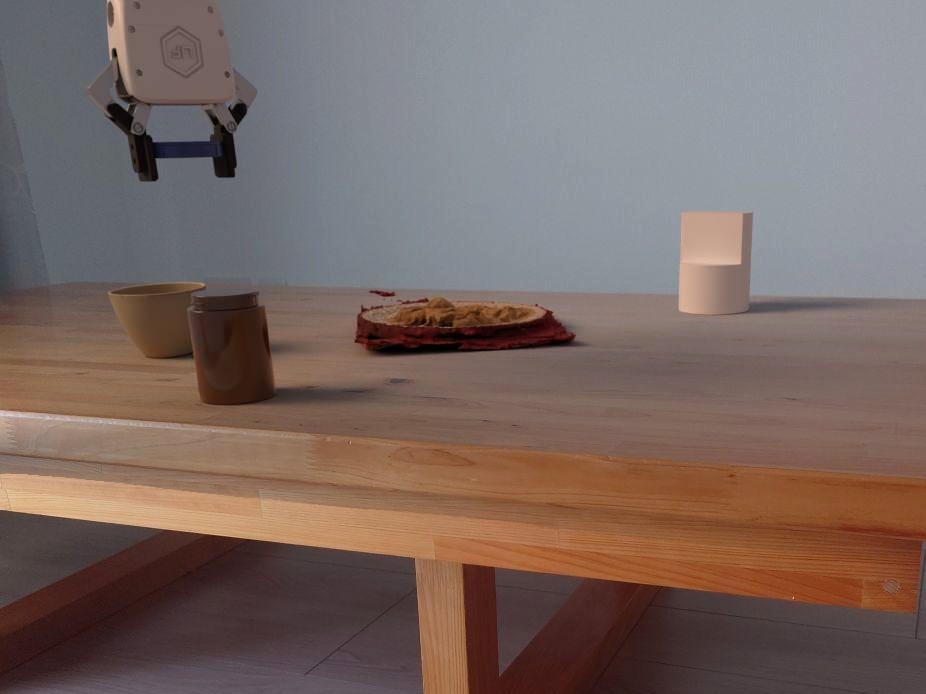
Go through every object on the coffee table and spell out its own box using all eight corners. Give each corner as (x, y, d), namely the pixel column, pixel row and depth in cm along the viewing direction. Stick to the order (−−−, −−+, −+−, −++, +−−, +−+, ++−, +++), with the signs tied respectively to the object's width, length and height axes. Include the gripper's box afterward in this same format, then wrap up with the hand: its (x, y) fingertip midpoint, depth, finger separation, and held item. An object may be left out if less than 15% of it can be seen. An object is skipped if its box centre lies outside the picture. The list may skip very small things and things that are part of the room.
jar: (219, 408, 86) (203, 299, 83) (188, 396, 91) (172, 293, 88) (289, 395, 90) (276, 290, 87) (255, 384, 95) (242, 285, 92)
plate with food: (355, 359, 107) (352, 326, 105) (362, 316, 130) (360, 289, 129) (576, 351, 109) (577, 319, 108) (544, 310, 133) (544, 284, 132)
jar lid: (231, 156, 95) (229, 140, 94) (154, 158, 91) (152, 142, 91) (212, 156, 100) (210, 140, 100) (139, 158, 97) (137, 142, 96)
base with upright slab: (666, 311, 130) (668, 214, 125) (697, 302, 137) (700, 209, 132) (730, 316, 125) (734, 215, 120) (760, 306, 132) (764, 210, 127)
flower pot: (152, 345, 117) (142, 282, 115) (231, 345, 115) (222, 281, 113) (100, 362, 108) (88, 294, 106) (185, 363, 106) (174, 293, 103)
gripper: (69, -47, 82) (110, 184, 89) (264, -30, 93) (288, 175, 99) (41, -34, 88) (82, 183, 94) (229, -19, 98) (254, 175, 105)
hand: (187, 177), depth 97 cm, fingers closed on jar lid, 7 cm apart
